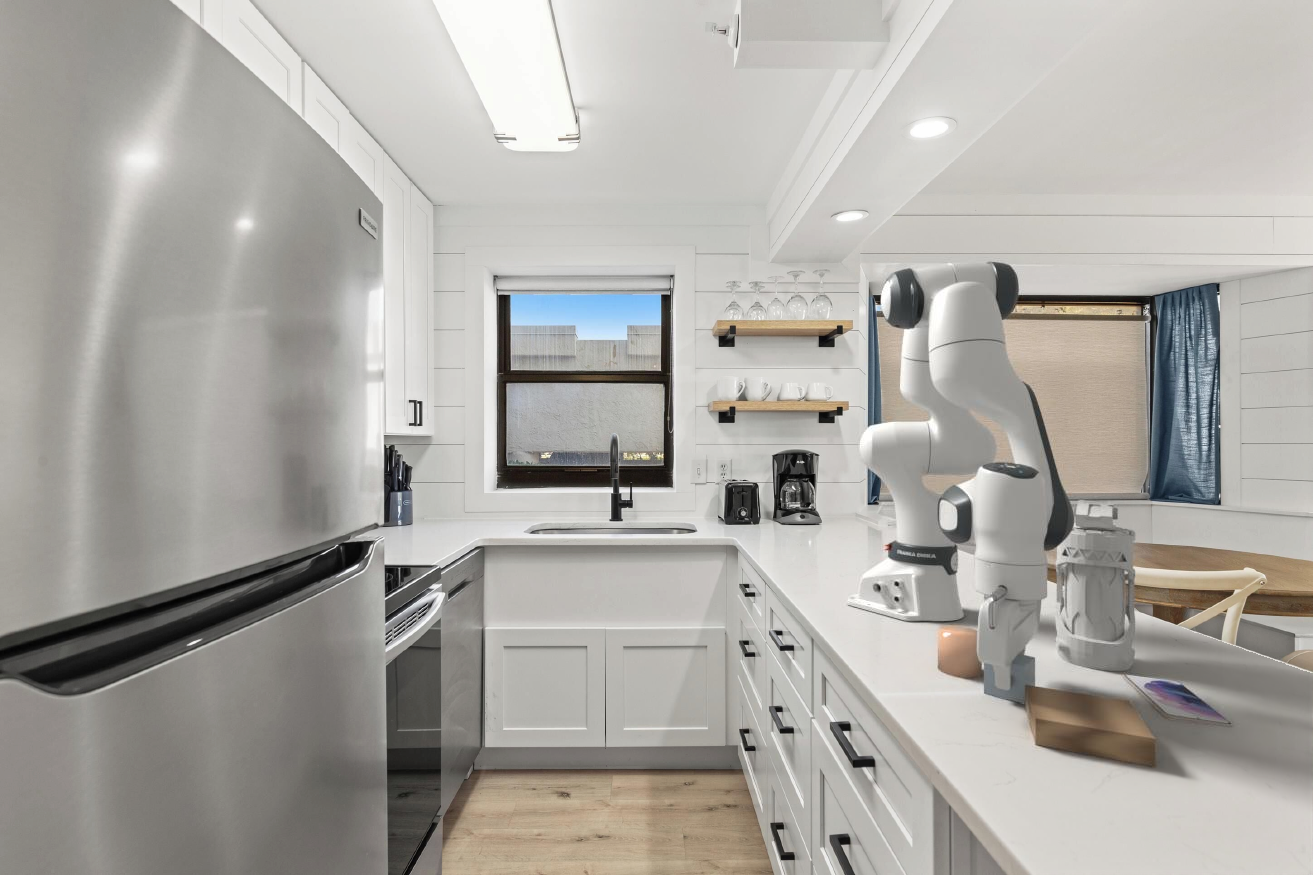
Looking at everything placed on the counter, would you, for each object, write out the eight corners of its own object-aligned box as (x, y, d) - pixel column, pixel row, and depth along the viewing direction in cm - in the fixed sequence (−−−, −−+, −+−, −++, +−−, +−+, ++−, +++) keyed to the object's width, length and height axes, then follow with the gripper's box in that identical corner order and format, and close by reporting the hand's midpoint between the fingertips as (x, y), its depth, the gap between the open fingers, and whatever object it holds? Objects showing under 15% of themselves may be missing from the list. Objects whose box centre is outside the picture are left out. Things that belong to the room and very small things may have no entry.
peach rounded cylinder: (931, 670, 94) (931, 630, 94) (946, 660, 98) (946, 623, 98) (973, 681, 90) (973, 640, 90) (987, 671, 94) (987, 631, 94)
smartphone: (1178, 680, 90) (1235, 725, 76) (1178, 686, 90) (1235, 731, 76) (1120, 673, 92) (1165, 714, 78) (1120, 678, 92) (1165, 721, 78)
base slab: (1035, 744, 71) (1035, 718, 71) (1025, 707, 81) (1025, 684, 81) (1155, 766, 66) (1155, 738, 66) (1129, 724, 76) (1129, 700, 76)
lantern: (1135, 677, 92) (1136, 508, 92) (1052, 661, 98) (1053, 504, 98) (1134, 653, 102) (1134, 502, 103) (1059, 641, 109) (1059, 498, 109)
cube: (983, 693, 86) (983, 656, 86) (995, 683, 89) (995, 648, 89) (1024, 704, 82) (1024, 666, 82) (1035, 693, 86) (1035, 657, 86)
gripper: (1019, 598, 76) (1019, 711, 76) (1049, 572, 91) (1049, 666, 91) (963, 589, 80) (963, 697, 80) (1001, 566, 95) (1001, 656, 95)
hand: (1009, 680), depth 86 cm, fingers closed on cube, 5 cm apart
